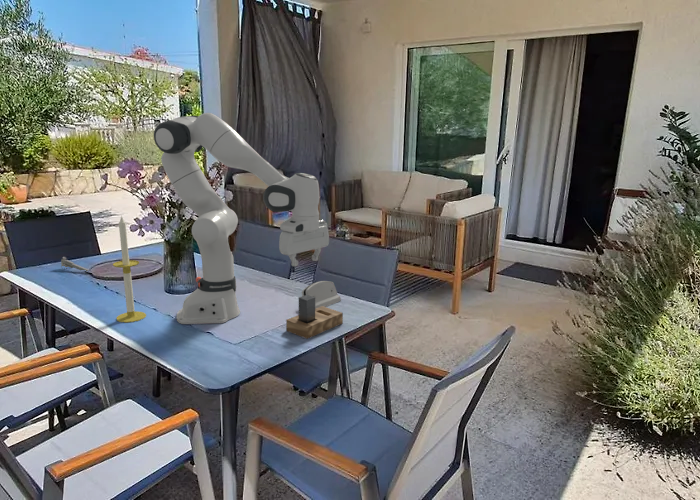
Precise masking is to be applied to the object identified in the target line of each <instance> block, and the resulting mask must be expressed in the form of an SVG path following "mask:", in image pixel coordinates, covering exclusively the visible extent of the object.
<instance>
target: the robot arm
mask: <svg viewBox="0 0 700 500" xmlns="http://www.w3.org/2000/svg"><path fill="white" fill-rule="evenodd" d="M153 140H154V143H155V145H156V147H157V148H158V149H159V150H160V151H161V152H162V155H161V157H160V158H161V159H160V160H161V164H162V167H163V169H164V171H165V173H166V175H167V178H168V179H169V182H170V183H171V185H172V187H173V188H174V190H175V191H176V193H177V195H178V196H179V198H180V200H181V201H182V203H183V204H184V205H185V206H186V207H188V208H190V209H191V210H192V211H193V212H194V213H195V214H196V215H197V216H198V217H197V218H196V220H194V222H193V224H192V226H191V235H192V237H193V239H194V240H195V241H196V243H197V246H198V250H199V253H200V257H201V267H202V269H201V270H202V277H201V276H197V277H196V278H195V282H196V285H197V288H196V289H195V290H194V291H192V292H191V293H190V294H188V295H187V296H186V297H185V299H184V300H183V303H182V308H180V309H179V310H178V311H177V313H176V321H177V322H178V323H179V324H181V325H199V324H200V325H201V324H202V325H203V324H205V325H206V324H223V323H226V322H228V321H229V320H231V319H234V318H236V317H238V316H240V313H241V309H240V308H239V305H238V300H237V294H236V292H237V279H236V276H235V265H234V262H235V261H234V255H233V253H232V252H231V249H230V248H231V247H230V245H229V236H231V235H232V234H233V233H234V232H235V230H236V229H237V226H238V223H239V219H238V215H237V214H236V212H235V211H234V210H233V209H231V208H230V207H229V206H228V205H227V204H226V202H225V201H224V200H223V199H222V198H221V197H220V196H219V194H217V192H216V191H215V189H213V187H212V186H211V184H210V183H209V181H208V179H207V177H206V176H205V174H204V172H203V171H202V169H201V168H200V166H199V164H198V163H197V160H196V159H195V153H199V152H200V151H201V150H202V149H203V148H204V149H206V151H207V152H208V153H209V154H211V155H212V156H213V158H215V159H216V160H217V161H218V162H220V163H222V164H223V165H224V166H226V167H228V168H232V169H238V170H244V171H247V172H249V173H251V174H253V175H254V176H256V177H257V178H258V179H259V180H261V182H263V183H264V184H265V185H266V186H267V187H266V189H265V190H264V192H263V203H264V205H265V207H266V208H267V209H268V210H269V211H272V212H273V213H283V212H292V213H291V215H292V217H290V218H287V220H286V221H283V222H282V223H280V225H279V228H280V231H281V232H280V234H279V240H278V241H279V242H278V247H279V248H278V249H279V253H281V255H284V256H288V258H289V259H290V261H291V266H292V267H298V266H299V260H298V259H297V258H296V257H297V254H301V253H305V252H308V251H314V253H313V254H312V255H311V260H312V261H313V262H317V261H319V256H320V253H321V251H322V248H326V247H328V246H329V243H330V235H329V234H330V233H329V228H328V223H327V221H326V220H324V219H322V220H320V212H319V211H320V210H319V204H320V185H319V181H318V179H317V177H316V176H314V175H313V174H310V173H305V172H304V173H303V172H298V173H297V172H296V173H294V174H293V175H292V176H291V177H287V176H285V175H284V174H283V173H282V172H280V171H279V170H278V169H277V168H275V167H274V166H273V164H271V163H270V162H269V161H267V160H266V159H265V158H264V157H263V156H261V155H260V154H259V153H258V152H257V151H256V150H255V149H254V148H253V147H252V146H251V145H250V144H249V143H248V142H247V141H246V140H245V139H244V138H243V137H242V136H241V135H240V134H239V133H238V132H237V131H236V130H235V129H234V128H233V127H232V126H230V124H228V123H227V122H226V121H225V120H223V119H222V118H220V117H219V116H217V115H216V114H214V113H211V112H204V113H202V114H200V115H188V116H179V117H176V118H174V119H170V120H165V121H163V122H160V123H159V124H158V125H157V126H156V127H155V129H154V131H153Z"/></svg>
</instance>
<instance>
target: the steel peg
mask: <svg viewBox="0 0 700 500" xmlns="http://www.w3.org/2000/svg"><path fill="white" fill-rule="evenodd" d="M298 315H299V321H301V322H304V323H306V324H308V323H310V322H313V321H315V297H312V296H309V295H305V296H302V295H301V296H299V297H298Z"/></svg>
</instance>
